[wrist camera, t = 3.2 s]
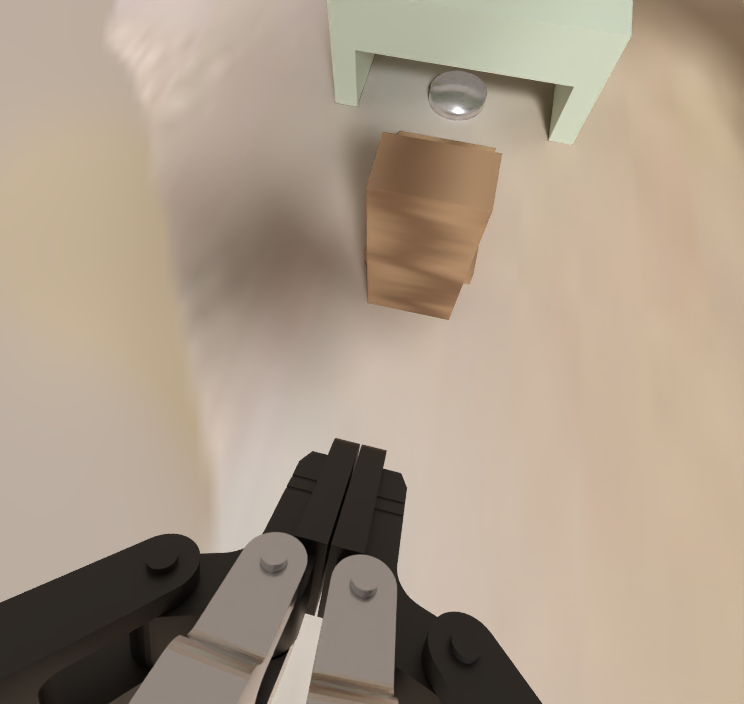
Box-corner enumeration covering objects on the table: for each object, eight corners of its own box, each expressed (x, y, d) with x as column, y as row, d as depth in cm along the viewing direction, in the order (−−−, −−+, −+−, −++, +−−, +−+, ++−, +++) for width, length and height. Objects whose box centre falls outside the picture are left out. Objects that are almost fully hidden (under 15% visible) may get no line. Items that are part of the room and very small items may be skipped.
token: (487, 88, 40) (490, 75, 39) (479, 127, 38) (482, 115, 37) (433, 79, 40) (435, 66, 39) (423, 117, 38) (425, 105, 37)
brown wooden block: (490, 162, 36) (544, 4, 25) (462, 322, 31) (514, 214, 20) (398, 145, 37) (410, -16, 26) (354, 299, 32) (345, 182, 20)
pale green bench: (577, 80, 40) (634, -37, 31) (571, 144, 37) (631, 35, 28) (357, 43, 41) (353, -78, 33) (335, 102, 38) (325, -12, 30)
